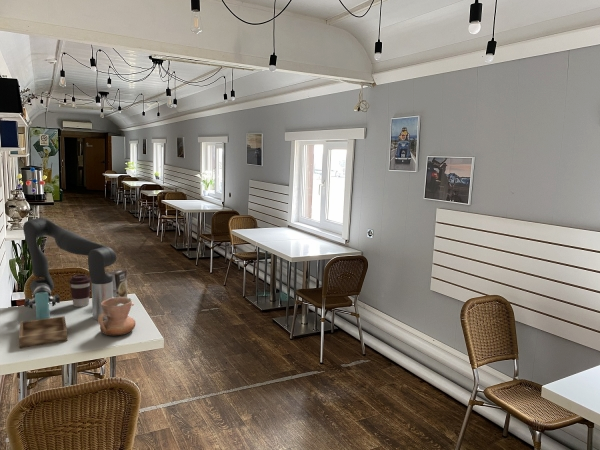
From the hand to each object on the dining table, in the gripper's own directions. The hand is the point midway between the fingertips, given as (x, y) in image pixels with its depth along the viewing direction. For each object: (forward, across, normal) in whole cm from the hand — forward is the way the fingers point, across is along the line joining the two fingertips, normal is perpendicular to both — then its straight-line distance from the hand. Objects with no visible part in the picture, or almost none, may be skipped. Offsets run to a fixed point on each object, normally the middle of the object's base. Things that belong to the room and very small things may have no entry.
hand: (42, 305), depth 212 cm
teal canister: (+2, 0, +8) cm, 8 cm away
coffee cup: (-18, +17, +8) cm, 26 cm away
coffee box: (-16, +34, +8) cm, 38 cm away
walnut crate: (+18, 0, +8) cm, 20 cm away
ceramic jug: (+26, +28, +8) cm, 39 cm away
